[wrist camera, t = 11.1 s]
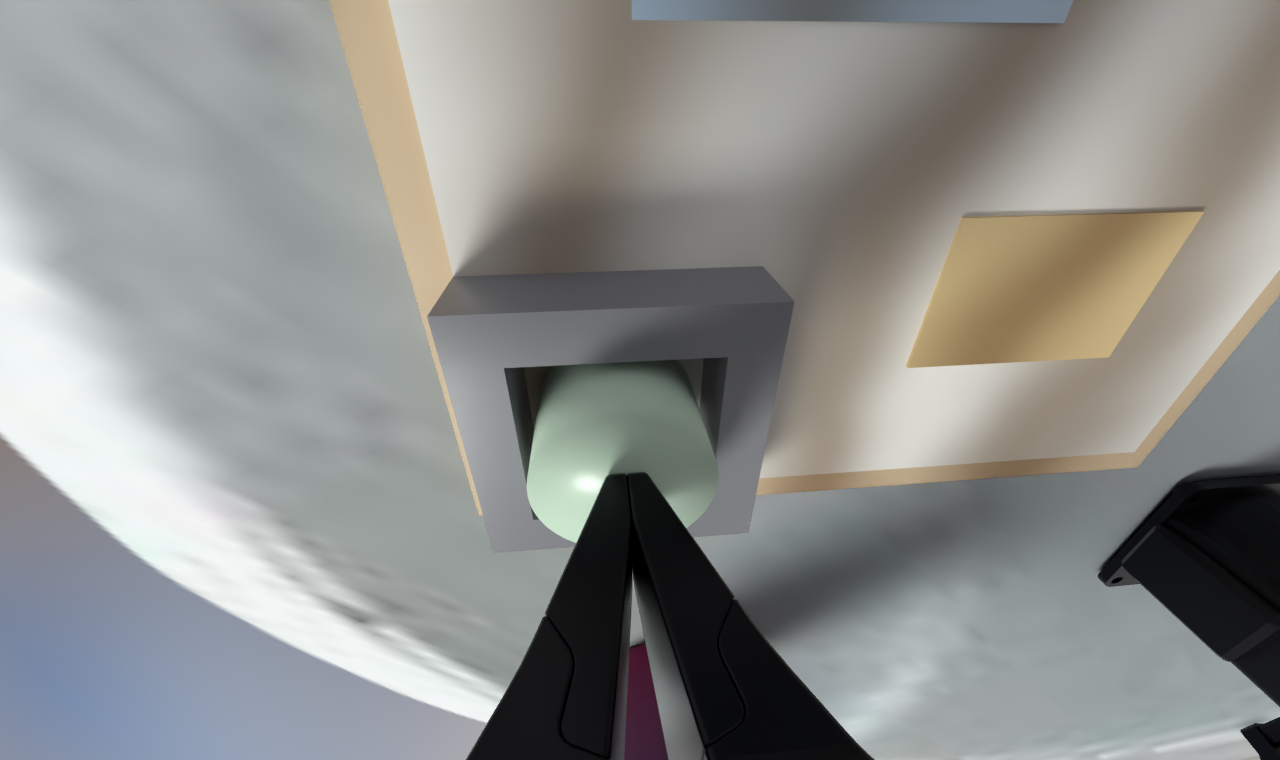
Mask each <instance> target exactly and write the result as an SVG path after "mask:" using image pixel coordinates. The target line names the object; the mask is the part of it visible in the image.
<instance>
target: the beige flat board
mask: <svg viewBox="0 0 1280 760" xmlns="http://www.w3.org/2000/svg"><path fill="white" fill-rule="evenodd" d="M329 1H330V4H331V8H332V11H333V14H334V18H335V21H336V25H337V28H338V32H339V35H340V39H341V42H342V45H343V49H344V52H345V56H346V59H347V63H348V66H349V70H350V73H351V76H352V80H353V83H354V87H355V90H356V94H357V97H358V101H359V104H360V107H361V111H362V114H363V118H364V121H365V125H366V128H367V132H368V135H369V138H370V142H371V145H372V149H373V152H374V156H375V159H376V163H377V166H378V169H379V173H380V176H381V180H382V183H383V187H384V190H385V194H386V197H387V200H388V204H389V207H390V211H391V214H392V218H393V221H394V225H395V228H396V231H397V235H398V238H399V242H400V245H401V249H402V252H403V256H404V259H405V262H406V266H407V269H408V273H409V276H410V280H411V283H412V287H413V290H414V293H415V297H416V300H417V304H418V307H419V311H420V314H421V318H422V321H423V324H424V328H425V331H426V335H427V338H428V342H429V345H430V349H431V352H432V355H433V359H434V362H435V366H436V369H437V373H438V376H439V380H440V383H441V386H442V390H443V393H444V397H445V400H446V404H447V407H448V411H449V414H450V417H451V421H452V424H453V428H454V431H455V435H456V438H457V442H458V445H459V448H460V452H461V455H462V459H463V462H464V466H465V469H466V473H467V476H468V479H469V483H470V486H471V490H472V493H473V497H474V500H475V504H476V507H477V510H478V514H479V515H483V513H482V510H481V506H480V502H479V499H478V495H477V492H476V488H475V485H474V481H473V478H472V474H471V471H470V467H469V464H468V460H467V456H466V453H465V449H464V446H463V442H462V439H461V435H460V432H459V428H458V425H457V421H456V418H455V414H454V411H453V407H452V403H451V400H450V396H449V393H448V389H447V386H446V382H445V379H444V375H443V372H442V368H441V365H440V361H439V357H438V354H437V350H436V347H435V343H434V340H433V336H432V333H431V329H430V326H429V322H428V319H427V316H428V314H429V313H430V311H431V310H432V308H433V306H434V305H435V303H436V302H437V300H438V299H439V297H440V296H441V294H442V293H443V291H444V290H445V288H446V287H447V285H448V284H449V282H450V281H451V279H452V278H453V277H458V276H487V275H517V274H546V273H575V272H605V271H634V270H664V269H693V268H723V267H752V266H763V267H764V268H765V269H766V270H767V271H768V273H769V274H770V275H771V276H772V277H773V278H774V279H775V280H776V281H777V283H778V284H779V285H780V286H781V287H782V288H783V289H784V290H785V292H786V293H787V294H788V295H789V296H790V297H791V298H792V299H793V300H794V307H793V312H792V317H791V322H790V327H789V332H788V337H787V342H786V347H785V352H784V357H783V362H782V367H781V372H780V377H779V382H778V387H777V392H776V397H775V402H774V407H773V412H772V417H771V422H770V427H769V432H768V437H767V442H766V447H765V452H764V457H763V462H762V467H761V472H760V477H759V482H758V487H757V492H756V495H766V494H779V493H793V492H807V491H820V490H834V489H848V488H862V487H875V486H889V485H903V484H916V483H930V482H944V481H957V480H971V479H985V478H998V477H1012V476H1026V475H1039V474H1053V473H1067V472H1081V471H1094V470H1108V469H1122V468H1135V467H1138V466H1139V465H1140V464H1141V463H1142V462H1143V460H1144V459H1145V458H1146V457H1147V456H1148V454H1149V453H1150V452H1151V451H1152V449H1153V448H1154V447H1155V446H1156V445H1157V443H1158V442H1159V441H1160V440H1161V439H1162V437H1163V436H1164V435H1165V434H1166V432H1167V431H1168V430H1169V429H1170V428H1171V426H1172V425H1173V424H1174V423H1175V422H1176V420H1177V419H1178V418H1179V417H1180V415H1181V414H1182V413H1183V412H1184V411H1185V409H1186V408H1187V407H1188V406H1189V405H1190V403H1191V402H1192V401H1193V400H1194V398H1195V397H1196V396H1197V395H1198V394H1199V392H1200V391H1201V390H1202V389H1203V388H1204V386H1205V385H1206V384H1207V383H1208V381H1209V380H1210V379H1211V378H1212V377H1213V375H1214V374H1215V373H1216V372H1217V370H1218V369H1219V368H1220V367H1221V366H1222V364H1223V363H1224V362H1225V361H1226V360H1227V358H1228V357H1229V356H1230V355H1231V353H1232V352H1233V351H1234V350H1235V349H1236V347H1237V346H1238V345H1239V344H1240V343H1241V341H1242V340H1243V339H1244V338H1245V336H1246V335H1247V334H1248V333H1249V332H1250V330H1251V329H1252V328H1253V327H1254V326H1255V324H1256V323H1257V322H1258V321H1259V319H1260V318H1261V317H1262V316H1263V315H1264V313H1265V312H1266V311H1267V310H1268V309H1269V307H1270V306H1271V305H1272V304H1273V302H1274V301H1275V300H1276V299H1277V298H1278V296H1279V295H1280V0H329ZM678 361H679V362H680V363H681V365H682V366H683V367H684V369H685V371H686V373H687V374H688V377H689V380H690V383H691V386H692V389H693V392H694V395H695V398H696V401H697V404H698V407H700V396H701V385H702V373H703V362H704V358H701V359H680V360H678ZM551 367H552V366H538V367H524V371H525V377H526V383H527V389H528V396H529V402H530V408H531V414H532V420H533V426H534V430H535V423H536V416H537V410H538V403H539V396H540V390H541V387H542V383H543V381H544V378H545V376H546V374H547V373H548V371H549V370H550V368H551Z"/></svg>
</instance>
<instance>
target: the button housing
mask: <svg viewBox="0 0 1280 760" xmlns="http://www.w3.org/2000/svg"><path fill="white" fill-rule="evenodd" d="M793 307H794V300H793V299H792V298H791V297H790V296H789V295H788V294H787V293H786V292H785V290H784V289H783V288H782V287H781V286H780V285H779V284H778V283H777V281H776V280H775V279H774V278H773V277H772V276H771V275H770V274H769V273H768V271H767V270H766V269H765V268H764V267H763V266H752V267H723V268H693V269H664V270H634V271H605V272H575V273H546V274H517V275H487V276H458V277H453V278H452V279H451V281H450V282H449V284H448V285H447V287H446V288H445V290H444V291H443V293H442V294H441V296H440V297H439V299H438V300H437V302H436V303H435V305H434V306H433V308H432V310H431V311H430V313H429V314H428V316H427V319H428V322H429V326H430V329H431V333H432V336H433V340H434V343H435V347H436V350H437V354H438V357H439V361H440V365H441V368H442V372H443V375H444V379H445V382H446V386H447V389H448V393H449V396H450V400H451V403H452V407H453V411H454V414H455V418H456V421H457V425H458V428H459V432H460V435H461V439H462V442H463V446H464V449H465V453H466V456H467V460H468V464H469V467H470V471H471V474H472V478H473V481H474V485H475V488H476V492H477V495H478V499H479V502H480V506H481V510H482V513H483V517H484V520H485V524H486V527H487V531H488V534H489V538H490V541H491V545H492V548H493V552H494V553H499V552H512V551H524V550H537V549H550V548H562V547H575V545H576V543H575V542H572V541H569V540H567V539H565V538H563V537H561V536H559V535H558V534H556V533H554V532H553V531H551V530H550V529H549V528H548V527H546V526H545V525H544V524H543V523H542V522H541V521H540V520H539V518H538V517H537V516H536V514H535V513H534V511H533V509H532V507H531V505H530V503H529V499H528V496H527V476H528V470H529V463H530V456H531V450H532V443H533V436H534V426H533V420H532V414H531V408H530V402H529V396H528V389H527V383H526V377H525V371H524V367H538V366H559V365H579V364H599V363H620V362H640V361H660V360H680V359H701V358H704V362H703V373H702V385H701V396H700V407H699V410H700V413H701V416H702V419H703V422H704V425H705V428H706V431H707V434H708V437H709V440H710V444H711V447H712V450H713V453H714V456H715V459H716V462H717V465H718V472H719V478H718V486H717V490H716V493H715V495H714V498H713V500H712V502H711V503H710V505H709V507H708V508H707V509H706V511H705V512H704V513H703V514H702V515H701V516H700V517H699V518H698V519H697V520H696V521H695V522H694V523H693V524H691V525H690V526H689V527H688V528H686V529H687V530H688V531H689V533H690V534H691V536H692V537H701V536H713V535H726V534H739V533H748V532H749V527H750V522H751V517H752V512H753V507H754V502H755V497H756V492H757V487H758V482H759V477H760V472H761V467H762V462H763V457H764V452H765V447H766V442H767V437H768V432H769V427H770V422H771V417H772V412H773V407H774V402H775V397H776V392H777V387H778V382H779V377H780V372H781V367H782V362H783V357H784V352H785V347H786V342H787V337H788V332H789V327H790V322H791V317H792V312H793Z"/></svg>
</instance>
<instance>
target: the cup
mask: <svg viewBox="0 0 1280 760" xmlns="http://www.w3.org/2000/svg"><path fill="white" fill-rule="evenodd" d="M624 760H668V755H667V750H666V744H665V739H664V734H663V729H662V724H661V719H660V714H659V709H658V704H657V699H656V694H655V689H654V684H653V678H652V673H651V668H650V663H649V658H648V653H647V648H646V644H643V645H639V646H636V647H633V648H630V649H629V668H628V689H627V710H626V731H625V752H624Z"/></svg>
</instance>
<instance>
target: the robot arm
mask: <svg viewBox="0 0 1280 760" xmlns="http://www.w3.org/2000/svg"><path fill="white" fill-rule="evenodd" d="M632 571H633V580H634V586H635V592H636V597H637V602H638V607H639V612H640V618H641V623H642V628H643V633H644V638H645V643H646V648H647V653H648V658H649V663H650V668H651V673H652V678H653V684H654V689H655V694H656V699H657V704H658V709H659V714H660V719H661V724H662V729H663V734H664V739H665V744H666V750H667V755H668V760H874V759H873V758H872V757H871V756H870V755H869V754H868V753H867V752H866V751H865V750H864V749H862V748H861V747H860V746H859V745H858V744H857V743H856V741H855V740H854V739H853V738H852V737H851V736H850V735H849V734H848V733H847V732H846V731H845V729H844V728H843V727H842V726H841V725H840V724H839V723H838V721H837V720H836V719H835V718H834V717H833V716H832V715H831V714H830V712H829V711H828V710H827V709H826V708H825V707H824V706H823V704H822V703H821V702H820V701H819V700H818V699H817V698H816V697H815V695H814V694H813V693H812V692H811V691H810V690H809V689H808V688H807V686H806V685H805V684H804V683H803V682H802V681H801V680H800V678H799V677H798V676H797V675H796V674H795V673H794V672H793V671H792V669H791V668H790V667H789V666H788V665H787V664H786V662H785V661H784V660H783V659H782V658H781V656H780V655H779V654H778V653H777V652H776V651H775V649H774V648H773V647H772V646H771V645H770V643H769V642H768V641H767V640H766V638H765V637H764V636H763V634H762V633H761V632H760V630H759V629H758V628H757V626H756V625H755V624H754V622H753V621H752V620H751V619H750V617H749V616H748V614H747V613H746V612H745V610H744V609H743V607H742V606H741V604H740V603H739V602H738V600H736V599H734V595H733V594H732V592H731V591H730V589H729V588H728V586H727V585H726V584H725V582H724V581H723V579H722V578H721V577H720V575H719V574H718V572H717V571H716V569H715V568H714V567H713V565H712V564H711V562H710V561H709V560H708V558H707V557H706V555H705V554H704V553H703V551H702V550H701V548H700V547H699V545H698V544H697V543H696V541H695V540H694V538H693V537H692V536H691V534H690V533H689V531H688V530H687V529H686V527H685V526H684V524H683V523H682V521H681V520H680V519H679V517H678V516H677V514H676V513H675V512H674V510H673V509H672V507H671V506H670V505H669V503H668V502H667V500H666V499H665V497H664V496H663V495H662V493H661V492H660V490H659V489H658V488H657V486H656V485H655V483H654V482H653V480H652V479H651V478H650V476H649V475H648V474H647V473H645V472H637V473H629V474H628V475H627V476H626V474H623V473H622V474H609V475H607V476H606V478H605V480H604V482H603V484H602V487H601V489H600V491H599V493H598V495H597V498H596V500H595V502H594V504H593V507H592V509H591V511H590V513H589V516H588V518H587V520H586V522H585V525H584V527H583V529H582V531H581V534H580V536H579V538H578V540H577V543H576V545H575V547H574V549H573V552H572V554H571V556H570V558H569V560H568V563H567V565H566V567H565V569H564V572H563V574H562V576H561V578H560V581H559V583H558V585H557V587H556V590H555V592H554V594H553V596H552V599H551V601H550V603H549V605H548V608H547V610H546V612H545V616H544V617H543V618H542V620H541V623H540V625H539V627H538V629H537V632H536V634H535V636H534V638H533V640H532V642H531V644H530V646H529V649H528V651H527V653H526V655H525V657H524V659H523V661H522V663H521V665H520V667H519V669H518V670H517V672H516V674H515V676H514V678H513V680H512V681H511V683H510V685H509V687H508V689H507V690H506V692H505V694H504V696H503V698H502V699H501V701H500V703H499V704H498V706H497V708H496V709H495V711H494V713H493V714H492V716H491V718H490V720H489V721H488V723H487V725H486V726H485V728H484V730H483V731H482V733H481V735H480V737H479V738H478V740H477V742H476V743H475V745H474V747H473V748H472V750H471V752H470V754H469V755H468V757H467V759H466V760H624V752H625V731H626V710H627V689H628V668H629V647H630V626H631V606H632ZM1098 578H1099V579H1100V580H1101V581H1102V582H1103V583H1104V584H1105V585H1106V586H1108V587H1112V586H1123V585H1133V584H1141V585H1142V586H1143V587H1144V588H1145V589H1146V590H1147V591H1149V592H1150V593H1151V594H1152V595H1153V596H1154V597H1155V598H1156V599H1157V600H1158V601H1159V602H1160V603H1161V604H1163V605H1164V606H1165V607H1166V608H1167V609H1168V610H1169V611H1170V612H1171V613H1172V614H1173V615H1174V616H1175V617H1177V618H1178V619H1179V620H1180V621H1181V622H1182V623H1183V624H1184V625H1185V626H1186V627H1187V628H1188V629H1189V630H1191V631H1192V632H1193V633H1194V634H1195V635H1196V636H1197V637H1198V638H1199V639H1200V640H1201V641H1202V642H1203V643H1205V644H1206V645H1207V646H1208V647H1209V648H1210V649H1211V650H1212V651H1213V652H1214V653H1215V654H1216V655H1217V656H1219V657H1220V658H1222V659H1223V660H1225V661H1229V662H1231V663H1232V664H1233V665H1234V666H1236V667H1237V668H1238V669H1239V670H1240V671H1241V672H1242V673H1243V674H1244V675H1245V676H1246V677H1248V678H1249V679H1250V680H1251V681H1252V682H1253V683H1254V684H1255V685H1256V686H1257V687H1258V688H1260V689H1261V690H1262V691H1263V692H1264V693H1265V694H1266V695H1267V696H1268V697H1269V698H1270V699H1271V700H1273V701H1274V702H1275V703H1276V704H1277V705H1278V706H1279V707H1280V475H1273V476H1260V477H1247V478H1234V479H1221V480H1208V481H1195V482H1190V483H1187V484H1185V485H1183V486H1181V487H1179V488H1178V489H1177V490H1176V491H1175V492H1174V493H1173V494H1172V495H1171V496H1170V497H1169V498H1168V499H1167V500H1166V501H1165V502H1164V504H1163V505H1162V506H1161V507H1160V508H1159V509H1158V510H1157V511H1156V512H1155V513H1154V514H1153V516H1152V517H1151V518H1150V519H1149V520H1148V521H1147V522H1146V523H1145V524H1144V525H1143V526H1142V527H1141V529H1140V530H1139V531H1138V532H1137V533H1136V534H1135V535H1134V536H1133V537H1132V538H1131V539H1130V540H1129V542H1128V543H1127V544H1126V545H1125V546H1124V547H1123V548H1122V549H1121V550H1120V551H1119V552H1118V554H1117V555H1116V556H1115V557H1114V558H1113V559H1112V560H1111V561H1110V562H1109V563H1108V564H1107V565H1106V567H1105V568H1104V569H1103V570H1102V571H1101V572H1100V573H1099V574H1098ZM1241 733H1242V734H1243V735H1244V737H1245V738H1246V739H1247V740H1248V742H1249V743H1250V744H1251V745H1252V746H1253V748H1254V749H1255V750H1256V751H1257V753H1258V754H1259V756H1260V759H1261V760H1280V717H1279V718H1276V719H1274V720H1272V721H1269V722H1267V723H1265V724H1257V723H1255V724H1253V725H1250V726H1248V727H1246V728H1243V729H1241Z"/></svg>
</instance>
